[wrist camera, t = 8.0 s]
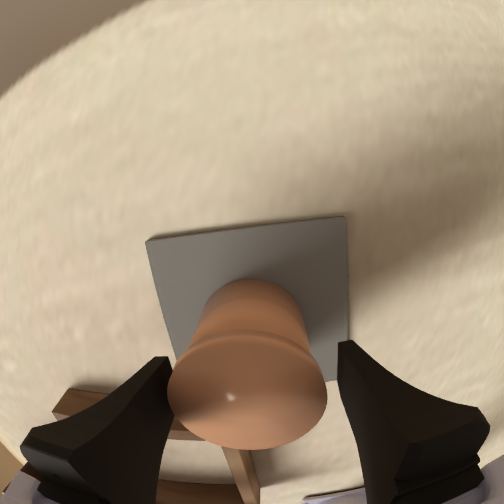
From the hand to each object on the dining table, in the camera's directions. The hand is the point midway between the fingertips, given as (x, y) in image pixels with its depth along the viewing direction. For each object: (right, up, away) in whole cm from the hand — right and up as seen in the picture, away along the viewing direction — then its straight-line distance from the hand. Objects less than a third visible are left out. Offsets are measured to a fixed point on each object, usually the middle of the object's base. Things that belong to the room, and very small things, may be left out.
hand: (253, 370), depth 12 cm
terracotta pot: (0, +1, +4) cm, 4 cm away
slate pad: (0, +1, +4) cm, 5 cm away
